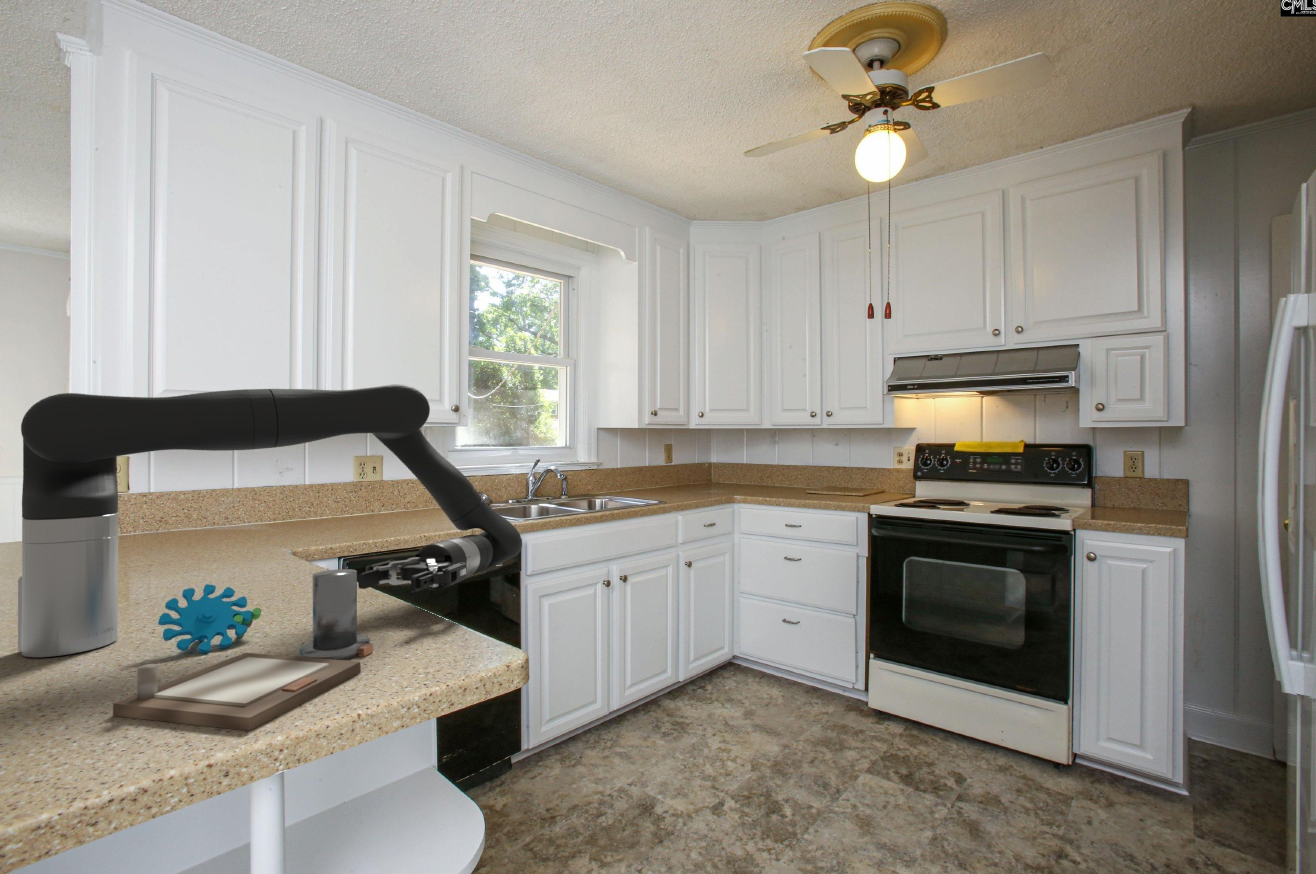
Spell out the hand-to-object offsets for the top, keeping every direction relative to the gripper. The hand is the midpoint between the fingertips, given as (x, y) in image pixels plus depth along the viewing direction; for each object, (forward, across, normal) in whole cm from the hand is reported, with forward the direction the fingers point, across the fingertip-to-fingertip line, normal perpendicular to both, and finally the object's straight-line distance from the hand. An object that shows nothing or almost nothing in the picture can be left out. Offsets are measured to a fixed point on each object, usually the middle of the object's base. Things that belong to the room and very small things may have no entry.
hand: (386, 583), depth 89 cm
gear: (+11, -18, +7) cm, 22 cm away
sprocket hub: (+10, 0, +6) cm, 12 cm away
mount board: (+23, 0, +6) cm, 24 cm away
